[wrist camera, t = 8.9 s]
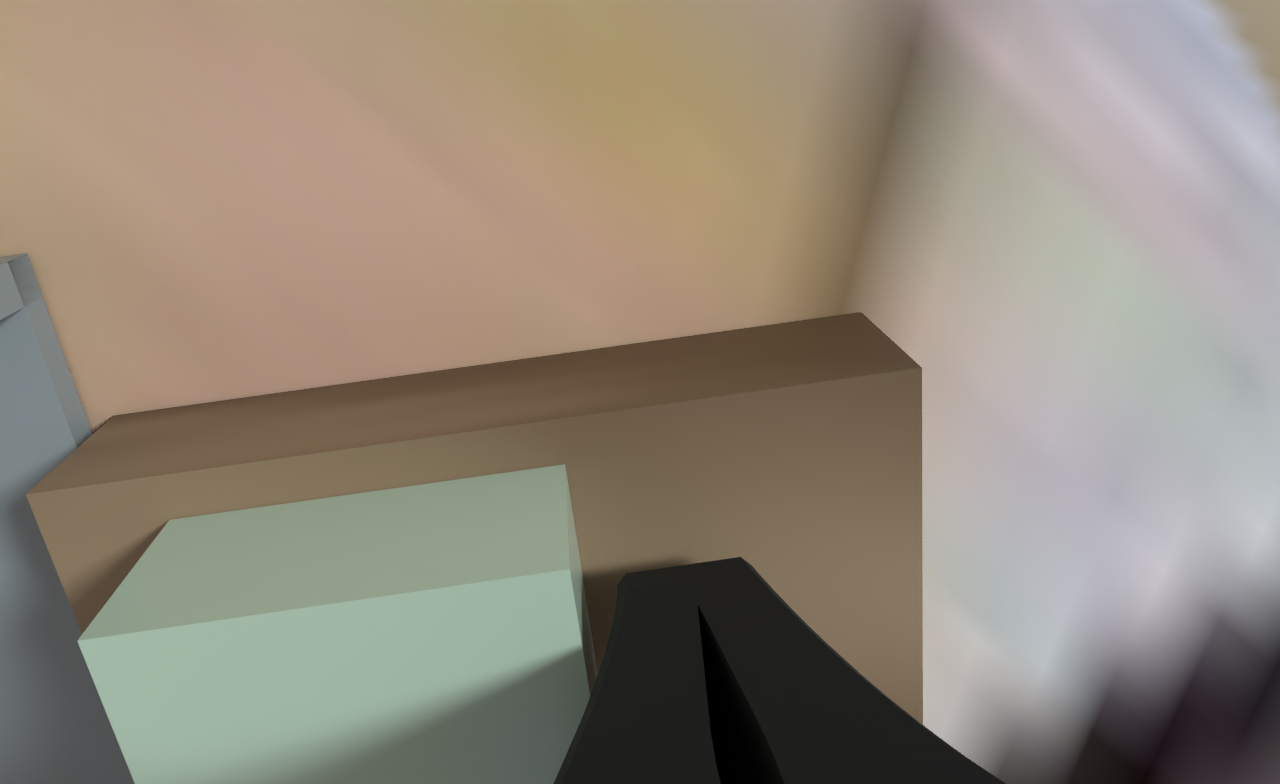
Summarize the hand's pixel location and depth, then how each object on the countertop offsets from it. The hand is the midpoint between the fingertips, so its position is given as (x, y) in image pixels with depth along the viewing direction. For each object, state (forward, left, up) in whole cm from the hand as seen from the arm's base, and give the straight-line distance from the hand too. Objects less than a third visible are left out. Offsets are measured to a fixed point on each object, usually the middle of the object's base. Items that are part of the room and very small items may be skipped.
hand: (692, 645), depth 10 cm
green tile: (0, +3, -1) cm, 3 cm away
